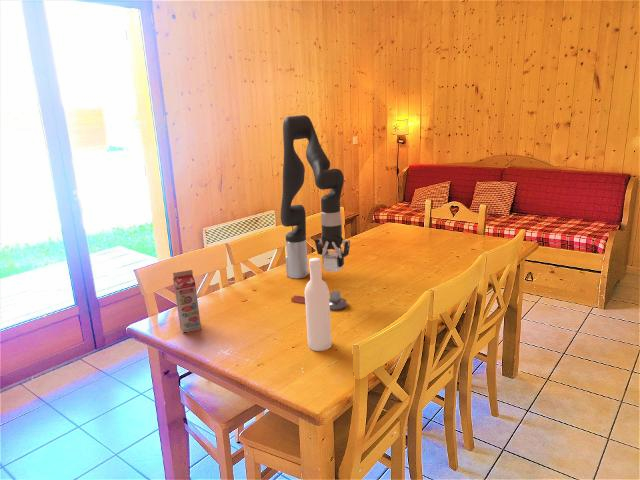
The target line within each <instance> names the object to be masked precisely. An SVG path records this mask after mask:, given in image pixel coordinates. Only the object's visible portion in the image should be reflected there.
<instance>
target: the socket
mask: <svg viewBox="0 0 640 480" xmlns="http://www.w3.org/2000/svg"><path fill="white" fill-rule="evenodd" d="M323 263H324V264H323ZM322 264H323V271H324V272H333V273H334V272H335V273H338V272H339V271H340V270H342V269H343V268H344V265H343V266H342V267H339V256H338V254H337V253H336V251H330V250H329V251H328V253H326V254H325V255H323V257H322Z"/></svg>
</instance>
